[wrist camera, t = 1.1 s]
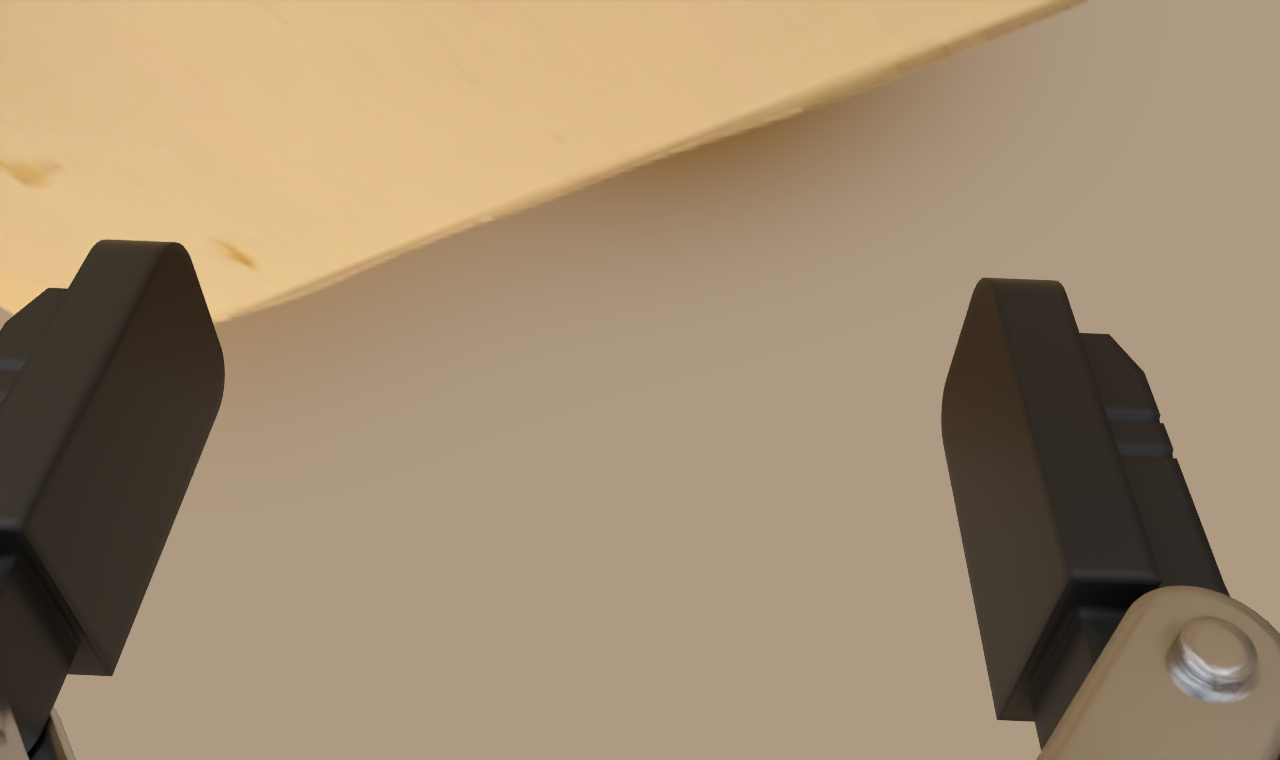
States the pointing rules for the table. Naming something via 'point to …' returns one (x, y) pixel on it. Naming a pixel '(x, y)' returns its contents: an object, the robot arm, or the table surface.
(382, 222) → the table surface
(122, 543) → the robot arm
